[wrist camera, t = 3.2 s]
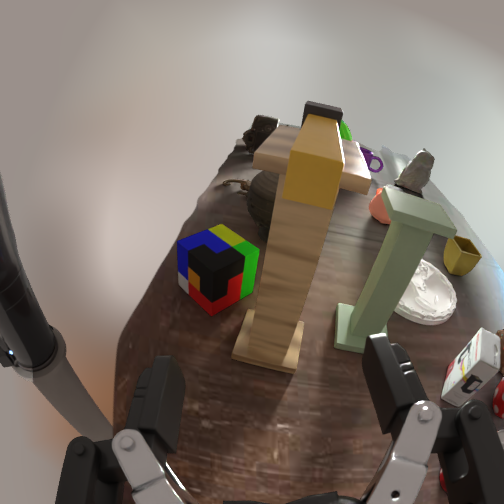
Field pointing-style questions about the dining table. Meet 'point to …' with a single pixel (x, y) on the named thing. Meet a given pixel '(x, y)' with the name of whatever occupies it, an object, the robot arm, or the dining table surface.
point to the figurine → (416, 172)
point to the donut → (501, 349)
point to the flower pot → (460, 255)
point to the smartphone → (395, 188)
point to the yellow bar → (316, 158)
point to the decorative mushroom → (499, 399)
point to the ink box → (472, 368)
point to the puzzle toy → (216, 267)
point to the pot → (263, 201)
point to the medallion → (427, 297)
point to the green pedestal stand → (391, 267)
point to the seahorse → (244, 185)
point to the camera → (259, 132)
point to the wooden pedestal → (289, 257)
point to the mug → (370, 159)
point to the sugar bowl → (379, 208)
